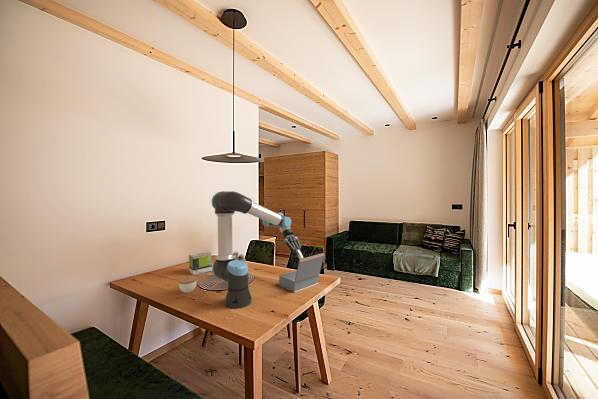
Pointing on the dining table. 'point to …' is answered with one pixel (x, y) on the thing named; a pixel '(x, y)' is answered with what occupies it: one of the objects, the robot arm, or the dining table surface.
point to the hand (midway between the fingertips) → (301, 258)
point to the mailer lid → (309, 267)
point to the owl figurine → (241, 257)
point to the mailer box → (290, 284)
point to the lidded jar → (187, 284)
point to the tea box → (200, 262)
